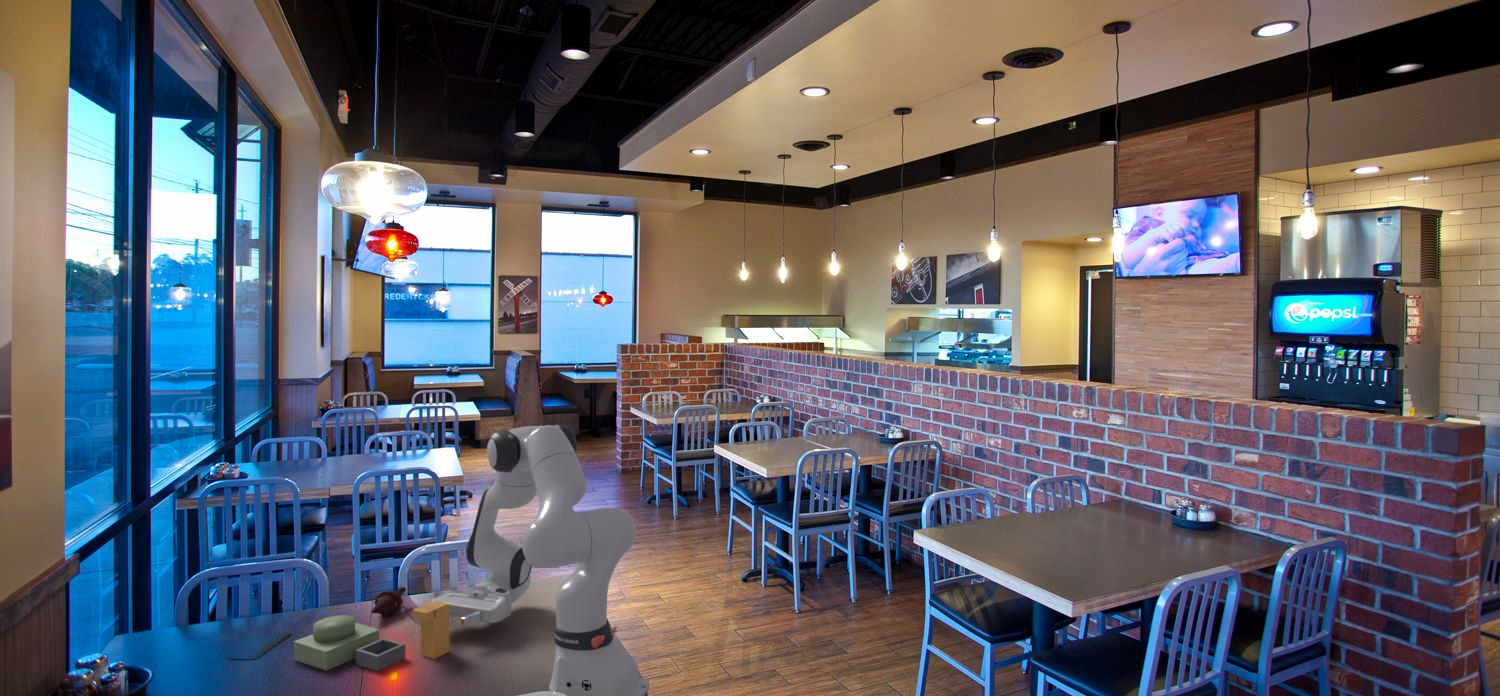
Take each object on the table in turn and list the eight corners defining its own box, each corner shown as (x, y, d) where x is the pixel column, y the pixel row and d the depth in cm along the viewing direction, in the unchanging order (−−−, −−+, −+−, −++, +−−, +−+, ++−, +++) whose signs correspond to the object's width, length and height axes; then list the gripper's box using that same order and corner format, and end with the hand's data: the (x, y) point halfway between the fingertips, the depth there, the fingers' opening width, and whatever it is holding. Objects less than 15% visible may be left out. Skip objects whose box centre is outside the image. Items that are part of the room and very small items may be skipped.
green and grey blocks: (409, 656, 185) (409, 625, 184) (356, 681, 172) (356, 648, 172) (348, 637, 195) (347, 608, 195) (294, 659, 182) (293, 629, 182)
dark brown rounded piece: (388, 603, 202) (417, 587, 216) (362, 595, 202) (394, 580, 217) (381, 628, 201) (411, 611, 216) (355, 620, 202) (387, 603, 217)
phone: (293, 631, 198) (255, 657, 183) (293, 635, 198) (255, 661, 183) (265, 631, 198) (224, 657, 183) (265, 634, 198) (224, 660, 183)
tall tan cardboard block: (449, 651, 187) (448, 603, 187) (426, 662, 181) (425, 613, 181) (436, 647, 189) (435, 600, 189) (413, 658, 183) (412, 609, 183)
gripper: (451, 583, 206) (413, 601, 193) (515, 592, 199) (480, 612, 186) (452, 606, 206) (414, 626, 193) (516, 616, 200) (481, 637, 187)
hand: (447, 619), depth 190 cm, fingers open, 8 cm apart
